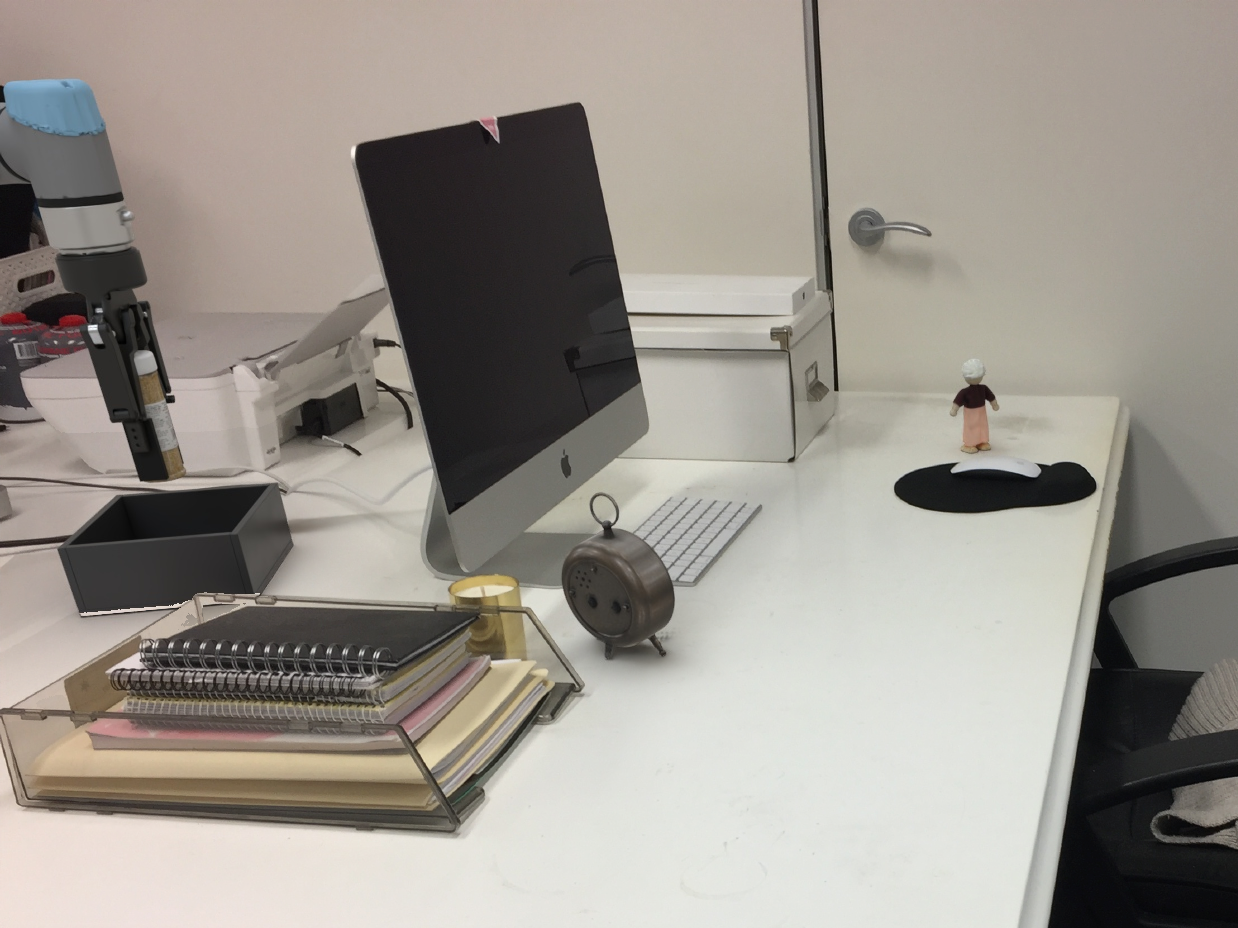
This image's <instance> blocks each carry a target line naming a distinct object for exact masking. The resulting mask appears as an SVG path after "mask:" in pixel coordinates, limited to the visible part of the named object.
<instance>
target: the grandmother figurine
mask: <svg viewBox="0 0 1238 928" xmlns="http://www.w3.org/2000/svg"><path fill="white" fill-rule="evenodd" d="M986 372H987V369H986V367H985V365H984V363H983V362H982V360H981V359H979V358H970V359H968V360H966V361H965V362H964V363H963V364H962V367H961V372H960V373H961V374H962V378H963V379H964V381H965V382H966V383H967V384H968V386H966V387H964V388H961V389H960V390H959V391H958V392H957V394H956V395H955V397H954V398H953V401H952V405H951V410H950V411H949V415H950V416H951V417H953V418H954V417H955V418H956V416H957V415H958V411H959V410H960V409H961V408H962V407H963V409H962V411H963V412H962V413H963V427H962V442H963V444H962V446H961V447H960V451H961V452H965V453H967V454H975V453H978V452H979V450H981V451H988V450H991V449H992V448H991V445H990V430H989V429H990V428H989V421H988V414H987V408H986V407H987V406H986V401H988V403H989V404H990V406H991V408H992V410H993V411H994V412H997V411H999V410H1000V405H999V404H998V400H997V397H996V395H995V394H994V392H993V391H992V390H991V389H990V387H989V386H988V385H987V384H983V383H982V381H983V378H984V376H986Z"/></svg>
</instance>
